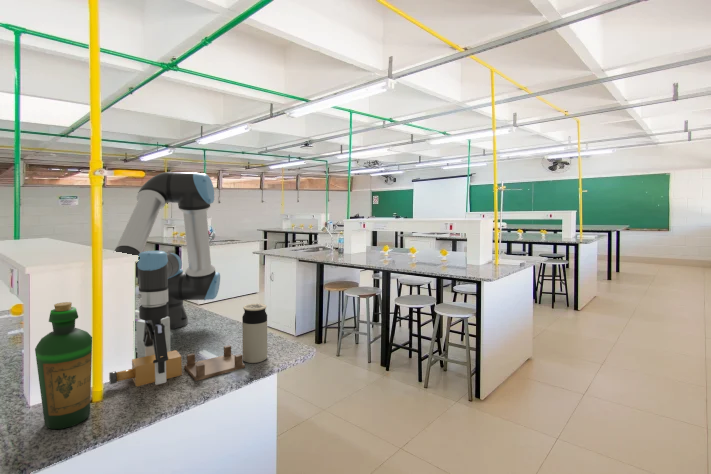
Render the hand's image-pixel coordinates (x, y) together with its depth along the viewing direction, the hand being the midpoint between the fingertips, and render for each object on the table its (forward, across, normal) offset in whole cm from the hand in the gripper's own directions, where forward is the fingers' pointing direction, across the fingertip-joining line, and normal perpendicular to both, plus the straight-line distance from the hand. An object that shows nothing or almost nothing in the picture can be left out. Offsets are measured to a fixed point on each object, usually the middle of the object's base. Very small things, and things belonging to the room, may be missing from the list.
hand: (155, 374), depth 111 cm
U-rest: (+1, +4, +16) cm, 17 cm away
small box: (+1, -17, +3) cm, 17 cm away
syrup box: (+1, -24, +2) cm, 24 cm away
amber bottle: (+1, 0, -2) cm, 3 cm away
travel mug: (+1, +5, +29) cm, 30 cm away
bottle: (+1, +12, -21) cm, 24 cm away
